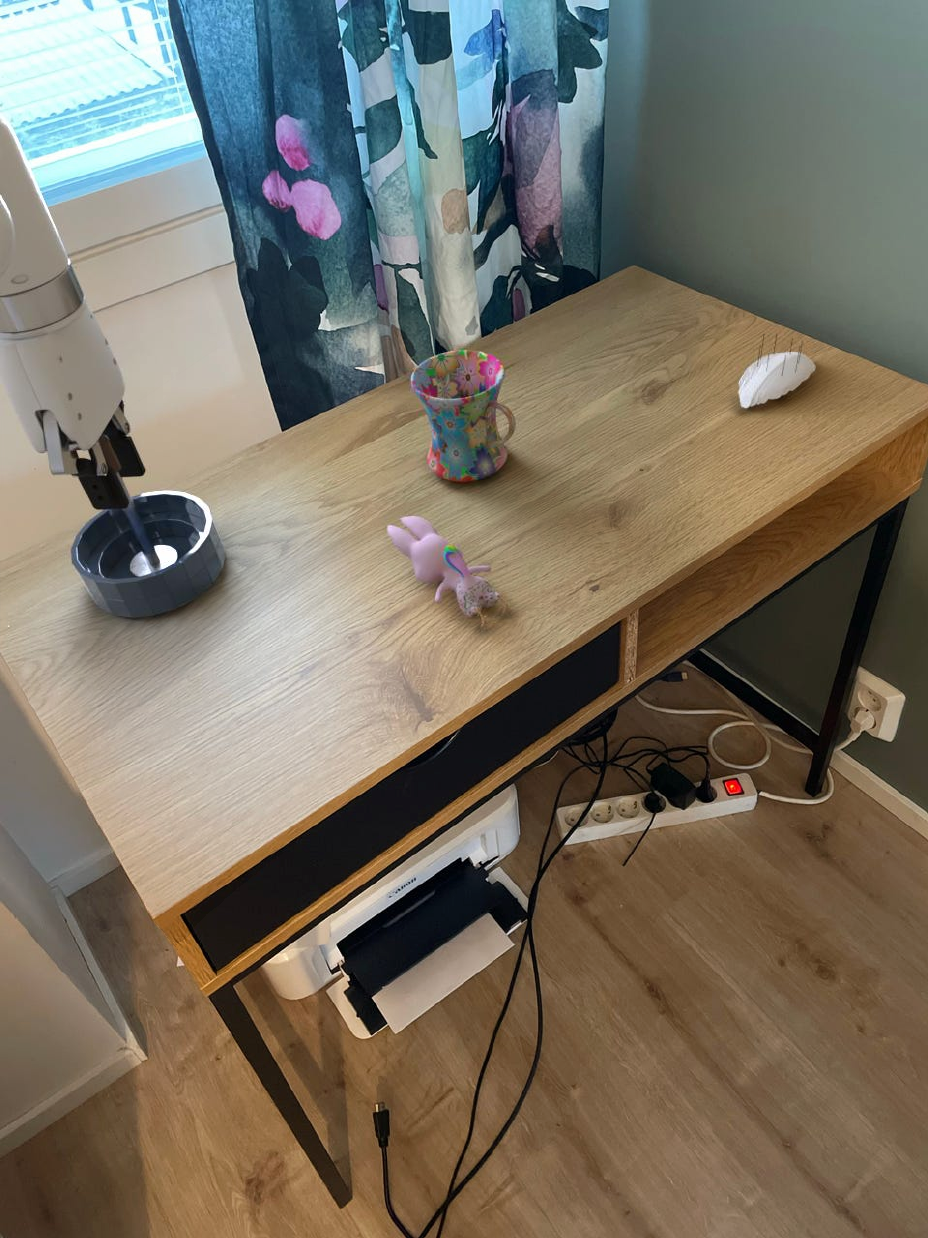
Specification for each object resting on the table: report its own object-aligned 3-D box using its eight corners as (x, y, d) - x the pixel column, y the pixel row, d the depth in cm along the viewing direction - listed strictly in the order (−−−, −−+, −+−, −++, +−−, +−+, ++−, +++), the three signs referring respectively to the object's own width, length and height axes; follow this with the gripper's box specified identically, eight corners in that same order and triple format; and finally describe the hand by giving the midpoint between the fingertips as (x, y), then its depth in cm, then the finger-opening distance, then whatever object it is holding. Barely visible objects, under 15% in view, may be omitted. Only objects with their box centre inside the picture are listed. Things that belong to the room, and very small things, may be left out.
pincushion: (782, 354, 103) (790, 308, 99) (830, 371, 100) (840, 324, 96) (719, 400, 98) (724, 353, 94) (767, 420, 95) (775, 372, 91)
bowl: (156, 640, 81) (135, 601, 78) (64, 593, 87) (41, 555, 84) (254, 553, 88) (240, 514, 85) (163, 515, 94) (146, 476, 91)
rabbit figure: (522, 614, 81) (421, 519, 88) (526, 571, 76) (419, 474, 83) (469, 650, 78) (369, 549, 85) (469, 608, 73) (363, 505, 80)
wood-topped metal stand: (156, 591, 85) (93, 462, 74) (124, 576, 87) (58, 448, 76) (191, 562, 87) (134, 433, 77) (159, 548, 89) (100, 420, 79)
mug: (407, 467, 96) (391, 379, 88) (468, 427, 100) (458, 340, 92) (486, 512, 89) (476, 421, 81) (549, 467, 93) (545, 376, 85)
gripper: (27, 252, 74) (112, 439, 87) (-69, 358, 62) (46, 554, 75) (113, 245, 73) (186, 435, 86) (32, 351, 61) (131, 551, 74)
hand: (120, 489), depth 80 cm, fingers open, 3 cm apart
